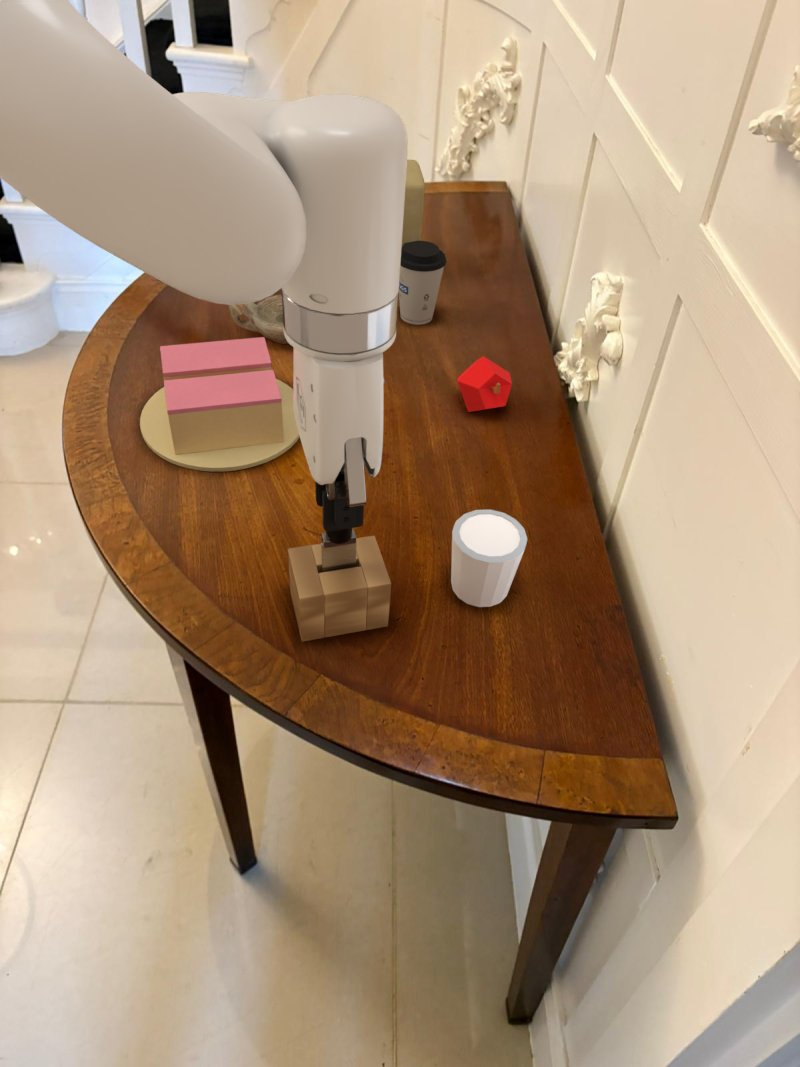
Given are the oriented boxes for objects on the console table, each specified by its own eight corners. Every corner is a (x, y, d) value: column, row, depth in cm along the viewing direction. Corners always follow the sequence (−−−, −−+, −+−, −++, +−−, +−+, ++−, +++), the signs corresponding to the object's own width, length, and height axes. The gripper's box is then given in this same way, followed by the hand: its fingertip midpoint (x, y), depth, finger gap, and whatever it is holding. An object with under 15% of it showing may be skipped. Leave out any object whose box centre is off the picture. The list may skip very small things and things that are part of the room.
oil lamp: (215, 316, 108) (207, 247, 101) (370, 319, 110) (373, 251, 103) (209, 351, 102) (199, 279, 95) (373, 353, 104) (375, 283, 97)
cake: (144, 482, 84) (133, 433, 79) (137, 381, 96) (127, 334, 92) (320, 460, 88) (319, 412, 83) (291, 366, 101) (289, 320, 96)
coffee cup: (442, 306, 114) (449, 239, 107) (439, 331, 109) (446, 263, 102) (394, 301, 114) (398, 234, 107) (389, 326, 109) (393, 257, 102)
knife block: (301, 642, 70) (299, 598, 66) (290, 592, 74) (287, 548, 70) (388, 626, 72) (391, 583, 68) (372, 578, 76) (374, 535, 72)
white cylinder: (515, 563, 79) (527, 512, 74) (515, 616, 74) (528, 565, 69) (446, 555, 79) (454, 504, 74) (442, 607, 74) (450, 557, 69)
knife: (324, 620, 72) (322, 473, 59) (320, 602, 73) (317, 455, 61) (356, 615, 73) (361, 468, 60) (351, 597, 74) (355, 450, 62)
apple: (449, 348, 96) (476, 361, 89) (499, 352, 98) (528, 365, 91) (441, 403, 99) (465, 420, 92) (489, 406, 101) (517, 423, 94)
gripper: (264, 259, 56) (277, 458, 69) (305, 386, 45) (312, 594, 58) (367, 252, 58) (361, 448, 71) (430, 373, 47) (409, 578, 60)
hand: (339, 513), depth 64 cm, fingers closed on knife, 2 cm apart
